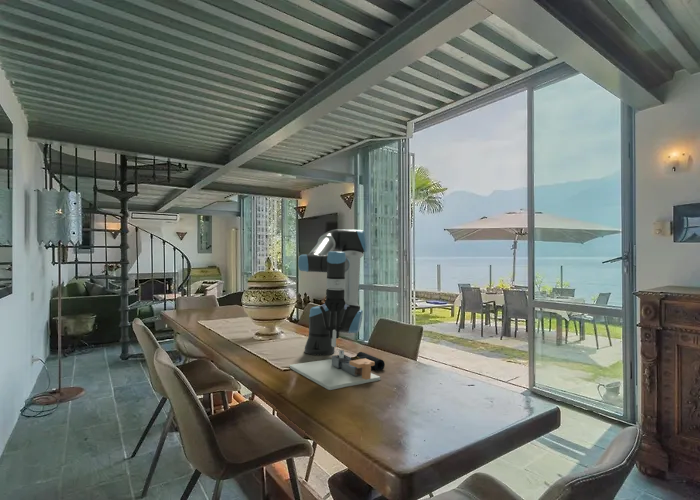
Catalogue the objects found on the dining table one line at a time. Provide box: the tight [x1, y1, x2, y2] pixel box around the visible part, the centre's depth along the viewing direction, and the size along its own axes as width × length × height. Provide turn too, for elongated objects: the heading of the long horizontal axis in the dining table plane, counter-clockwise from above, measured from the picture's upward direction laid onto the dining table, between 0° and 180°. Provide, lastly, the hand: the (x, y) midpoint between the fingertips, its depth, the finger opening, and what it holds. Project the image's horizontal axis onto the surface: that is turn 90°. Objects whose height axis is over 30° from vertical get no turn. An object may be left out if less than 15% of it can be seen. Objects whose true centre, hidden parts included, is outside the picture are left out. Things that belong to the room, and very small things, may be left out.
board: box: [288, 358, 381, 391], centre depth 158 cm, size 24×32×1 cm
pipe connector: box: [350, 351, 385, 372], centre depth 170 cm, size 12×5×15 cm
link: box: [331, 354, 362, 376], centre depth 159 cm, size 18×6×4 cm, turn 30°
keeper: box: [349, 358, 375, 379], centre depth 151 cm, size 8×7×7 cm
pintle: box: [338, 350, 345, 358], centre depth 164 cm, size 2×2×8 cm
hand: (333, 346), depth 157 cm, fingers closed
